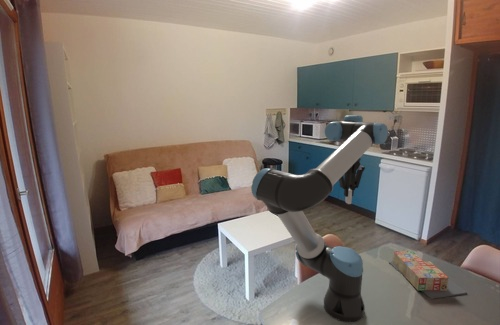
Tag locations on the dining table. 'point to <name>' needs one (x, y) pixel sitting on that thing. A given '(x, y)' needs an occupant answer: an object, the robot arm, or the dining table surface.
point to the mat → (451, 291)
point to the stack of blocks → (420, 272)
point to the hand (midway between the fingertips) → (348, 202)
